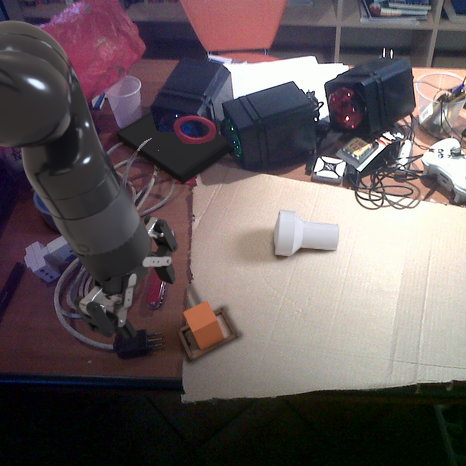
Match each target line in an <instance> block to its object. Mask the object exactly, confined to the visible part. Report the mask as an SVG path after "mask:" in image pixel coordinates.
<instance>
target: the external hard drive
mask: <svg viewBox="0 0 466 466" xmlns="http://www.w3.org/2000/svg"><path fill="white" fill-rule="evenodd" d="M151 112H152V111H150V112H149V113H147V114H145V115H142V116H141V117H140V118H138V119H136V120H134V121H133V122H131V123H129V124H128V125H126V126H124V127H123V128H121V129H119V130H118V131H116V136H117V138H118V140H119V141H120V142H122V143H123V144H125V145H126V146H128V147H129V148H131V149H132V150H133V151H135V152H136V150H137V149H138V148H139V146H140V145H141V144H142V143H143V142H144V141H146V140H148V139H150V138H152V139H151V140H150V141H148V142H147V143H146V144H145V145H144V146H143V147H142V148H141V149H140V151H139V152H137V154H139V155H140V156H142V157H143V158H145V159H146V160H147V161H149V162H150V163H152V164H154V165H155V166H156V167H158V168H159V169H161V170H162V171H163V172H166V173H167V174H168V175H169V176H170V177H172V178H174V179H175V180H176V181H178V182H180V183H181V184H182V185H185V184H186V183H188V182H189V181H190V180H192V179H193V178H195V177H196V176H197V175H199V174H200V173H202V172H203V171H204V170H207V169H208V168H209V167H211V166H212V165H213V164H215V163H216V162H218V161H219V160H220V159H222V158H223V157H225V156H226V155H228V154H229V153H230V152H232V151H233V150H234V149H233V148H232V147H230V146H229V143H228V142H227V141H226V139H225V138H224V137H225V136H224V135H222V134H221V133H219V132H217V133H216V137H215V139H213V140H212V141H209V142H205V143H201V144H184V143H183V142H182V141H181V140H180V139H179V138H178V137H177V136H176V135H175V133H174V132H160V131H157V129H156V127H155V124H154V120H153V117H152V113H151ZM223 136H224V137H223ZM199 137H201V136H199ZM158 150H159V151H158Z"/></svg>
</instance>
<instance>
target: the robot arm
mask: <svg viewBox="0 0 466 466" xmlns="http://www.w3.org/2000/svg"><path fill="white" fill-rule="evenodd" d="M0 147H4V148H5V147H6V148H12V149H13V148H14V149H21V158H22V165H23V169H24V172H25V175H26V178H27V180H28V182H29V183H30V185H31V187H32V188H33V190H34V192H35V191H36V192H37V194H38V195H39V197H40V198H41V200H42V201H43V203H44V204H45V206H46V207H47V209H48V210H49V212H50V213H51V215H52V218H53V220H54V222H55V224H56V226H57V228H58V230H59V231H60V232H59V233H60V234H61V235H62V237H63V239H64V241H66V243H67V244H68V245H69V247H70V249H71V250H72V252H73V254H74V255H75V256H76V257H77V259H78V260H79V262H80V264H81V265H82V266H83V268H84V269H85V270H86V272H87V273H88V274H89V275H90V276H91V277H92V281H93V282H92V283H93V284H92V286H93V287H92V289H91V291H90V292H89V293H87V295H86V296H83V295H78V296H76V297H75V298H74V301H73V306H74V307H75V309H76V310H77V312H78V313H79V315H80V317H81V318H82V319H83V321H84V323H85V324H86V325H87V327H88V329H89V330H90V331H92V332H94V333H97V334H100V335H102V336H104V337H106V338H111V337H112V336H113V335H114V334H115V335H117V336H119V337H121V338H122V339H125V340H129V339H130V338H131V339H135V337H136V336H137V335H138V332H137V331H136V328H135V327H134V325H132V323H131V321H130V320H129V319H128V318H127V315H128V309H129V308H130V307H132V305H133V304H132V303H133V295H134V292H135V290H136V289H137V288H138V286H139V284H140V282H141V281H143V279H144V278H146V277H147V275H148V273H149V269H150V267H153V269H154V271H155V273H156V275H157V277H158V279H159V280H160V281H162V282H164V283H166V284H169V285H174V284H175V282H176V280H177V279H176V277H175V276H176V271H175V269H174V267H173V264H172V260H173V259H172V257H171V255H172V254H173V253H176V252H177V251H178V249H179V243H178V242H177V240H176V238H175V235H174V234H173V232H172V230H171V227H170V226H169V224H168V221H167V220H165V219H162V218H159V217H157V216H153V215H151V214H147V215H145V216H144V219H142V217H141V215H140V212H139V211H138V209H137V206H136V204H135V203H134V200H133V198H132V196H131V194H130V192H129V191H128V189H127V188H126V187H125V185H124V184H123V182H122V180H121V179H120V177H119V174H118V172H117V170H116V169H115V166H114V164H113V162H112V160H111V158H110V156H109V155H108V152H107V151H106V149H105V147H104V145H103V144H102V142H101V140H100V137H99V135H98V133H97V130H96V126H95V124H94V120H93V117H92V113H91V110H90V108H89V104H88V102H87V99H86V96H85V93H84V90H83V86H82V85H81V81H80V79H79V76H78V74H77V71H76V69H75V66H74V64H73V62H72V61H71V59H70V57H69V55H68V53H67V52H66V50H65V49H64V48H63V47H62V45H61V44H60V43H59V42H58V41H57V39H55V37H53V36H52V35H51V34H49V33H48V32H47V31H46V30H44V29H42V28H40V27H39V26H37V25H34V24H31V23H28V22H25V21H21V20H4V21H0ZM153 241H154V243H155V245H156V247H157V249H156V251H155V250H152V248H153V247H152V246H153ZM117 295H121V297H119V296H117ZM114 309H116V312H114Z"/></svg>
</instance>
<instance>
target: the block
mask: <svg viewBox="0 0 466 466" xmlns="http://www.w3.org/2000/svg"><path fill="white" fill-rule="evenodd" d="M182 314H183V316H184V318H185V320H186V322H187V325H188V324H189V327H190V329H189V330H191V333H192V335H193V337H194V339H195V341H196V344H197V345H198V348H199V349H200V350H199V351H202V350H204V349H205V348H207V347H209V346H211V345H213V344H215V343H217V342H219V341H221V340H223V339H225V336H224V333H223V330H222V328H221V325H220V323H219V320H218V318H217V316H215V314H214V310H213V308H212V307H211V305H210V303H209V301H208V300H205V301H203V302H201V303H199V304H197V305H195V306H193V307H191V308H189V309H187V310H184V311H183V312H182Z"/></svg>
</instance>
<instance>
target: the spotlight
mask: <svg viewBox="0 0 466 466" xmlns="http://www.w3.org/2000/svg"><path fill="white" fill-rule="evenodd" d="M273 229H274V230H273V242H274V248H275V249H274V252H275V253H274V254H275V256H286V257H292V256H293V255H294V254H295V253H296V252H297V251H298V250H299V249H301V248H302V249H312V250H313V249H314V250H326V251H337V249H338V247H339V241H340V225H339V224H338V223H329V222H328V223H327V222H318V221H307V220H303V219H302V218H301V216H299V214H298V212H297V211H295V210H291V209H278V216H277V218H276V221H275V224H274V228H273Z"/></svg>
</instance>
